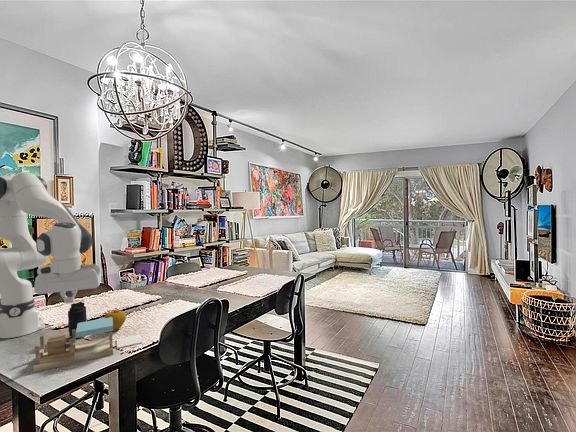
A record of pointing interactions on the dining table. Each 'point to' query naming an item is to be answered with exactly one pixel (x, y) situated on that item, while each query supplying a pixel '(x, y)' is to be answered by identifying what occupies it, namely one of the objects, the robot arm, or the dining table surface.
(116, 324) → the apple
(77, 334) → the sliding lid
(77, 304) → the black bottle
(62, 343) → the walnut block
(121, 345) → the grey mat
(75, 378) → the dining table surface
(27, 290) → the robot arm
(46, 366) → the beige notched bar
